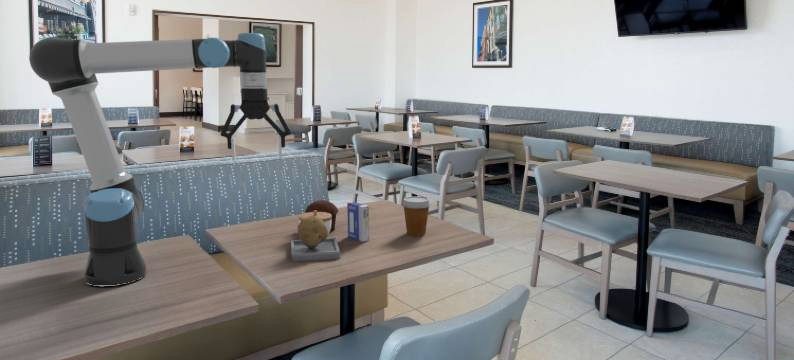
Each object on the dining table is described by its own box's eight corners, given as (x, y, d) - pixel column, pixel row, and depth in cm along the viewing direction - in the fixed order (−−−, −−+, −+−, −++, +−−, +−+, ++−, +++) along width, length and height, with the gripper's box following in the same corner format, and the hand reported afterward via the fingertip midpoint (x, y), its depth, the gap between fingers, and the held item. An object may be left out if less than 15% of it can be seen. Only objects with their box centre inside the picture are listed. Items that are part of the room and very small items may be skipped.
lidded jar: (309, 244, 187) (308, 216, 185) (293, 237, 196) (292, 209, 194) (338, 239, 193) (337, 211, 192) (322, 232, 202) (321, 205, 200)
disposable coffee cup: (419, 239, 194) (419, 203, 191) (396, 234, 199) (396, 199, 197) (435, 232, 201) (436, 198, 199) (412, 228, 207) (413, 194, 204)
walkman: (347, 237, 196) (347, 202, 194) (354, 235, 198) (353, 200, 196) (362, 242, 191) (362, 206, 188) (369, 240, 192) (369, 204, 190)
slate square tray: (292, 261, 172) (291, 254, 172) (291, 247, 185) (291, 240, 185) (339, 258, 175) (339, 251, 174) (335, 244, 188) (335, 237, 188)
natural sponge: (317, 241, 186) (316, 211, 184) (334, 248, 179) (333, 216, 177) (293, 247, 180) (291, 216, 178) (309, 254, 173) (308, 221, 171)
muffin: (298, 230, 203) (297, 202, 201) (319, 222, 212) (318, 195, 210) (325, 236, 197) (324, 207, 195) (345, 227, 206) (344, 200, 204)
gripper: (208, 88, 166) (212, 162, 170) (297, 87, 171) (299, 159, 175) (211, 87, 173) (215, 158, 178) (296, 86, 178) (299, 155, 182)
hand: (257, 159), depth 176 cm, fingers open, 13 cm apart
